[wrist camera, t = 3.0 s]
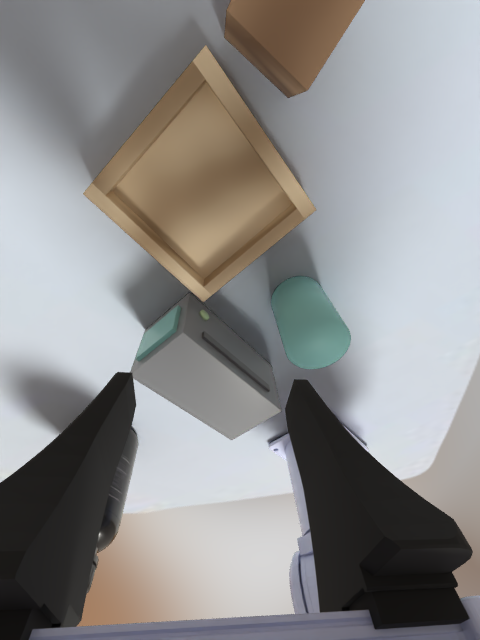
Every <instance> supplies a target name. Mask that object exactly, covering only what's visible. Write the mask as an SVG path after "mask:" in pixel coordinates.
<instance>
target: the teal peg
mask: <svg viewBox="0 0 480 640" xmlns="http://www.w3.org/2000/svg"><path fill="white" fill-rule="evenodd" d="M271 306H272V309H273V313H274V316H275V319H276V323H277V326H278V329H279V332H280V336H281V339H282V342H283V345H284V349H285V352H286V355H287V357H288V359H289V360H290V361H291V362H292V363H293V364H294V365H296V366H298V367H301V368H304V369H319V368H323V367H326V366H329V365H331V364H333V363H335V362H336V361H338V360H339V359H340V358H341V357H342V356H343V355H344V354H345V353H346V351H347V349H348V347H349V345H350V341H351V335H350V332H349V329H348V328H347V326H346V325H345V323H344V322H343V320H342V319H341V317H340V315H339V314H338V312H337V311H336V309H335V308H334V306H333V305H332V303H331V302H330V300H329V299H328V297H327V295H326V294H325V292H324V291H323V289H322V288H321V286H320V285H319V284H318V282H316V281H315V280H314V279H312V278H309V277H305V276H297V277H292V278H289V279H287V280H285V281H284V282H282V283H281V284H280V285H279V286H278V287H277V288H276V289H275V291H274V293H273V295H272V299H271Z"/></svg>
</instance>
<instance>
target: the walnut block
mask: <svg viewBox="0 0 480 640" xmlns="http://www.w3.org/2000/svg"><path fill="white" fill-rule="evenodd" d="M364 1H365V0H231V2H230V4H229V6H228V8H227V11H226V23H225V35H224V38H225V39H226V40H227V41H228V42H230V43H231V44H232V45H233V46H234V47H235V48H236V49H237V50H238V51H239V52H240V53H241V54H242V55H243V56H244V57H245V58H246V59H247V60H249V61H250V62H251V63H252V64H253V65H254V66H255V67H256V68H257V69H258V70H259V71H260V72H261V73H262V74H263V75H264V76H265V77H266V78H268V79H269V80H270V81H271V82H272V83H273V84H274V85H275V86H276V87H277V88H278V89H279V90H280V91H281V92H282V93H283V94H284V95H286V96H287V97H288V98H290V97H292V96H295V95H297V94H300V93H302V92H305V91H307V90H308V89H309V87H310V86H311V84H312V83H313V81H314V80H315V78H316V76H317V75H318V73H319V72H320V70H321V69H322V67H323V65H324V64H325V62H326V61H327V59H328V58H329V56H330V54H331V53H332V51H333V50H334V48H335V47H336V45H337V44H338V42H339V40H340V39H341V37H342V36H343V34H344V33H345V31H346V29H347V28H348V26H349V25H350V23H351V22H352V20H353V18H354V17H355V15H356V14H357V12H358V11H359V9H360V8H361V6H362V4H363V3H364Z"/></svg>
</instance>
